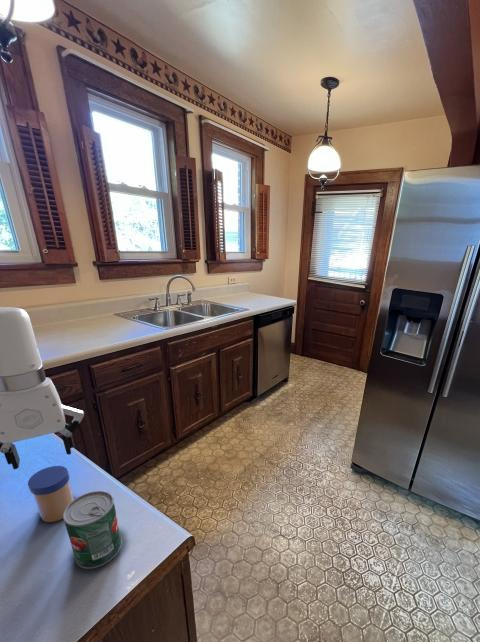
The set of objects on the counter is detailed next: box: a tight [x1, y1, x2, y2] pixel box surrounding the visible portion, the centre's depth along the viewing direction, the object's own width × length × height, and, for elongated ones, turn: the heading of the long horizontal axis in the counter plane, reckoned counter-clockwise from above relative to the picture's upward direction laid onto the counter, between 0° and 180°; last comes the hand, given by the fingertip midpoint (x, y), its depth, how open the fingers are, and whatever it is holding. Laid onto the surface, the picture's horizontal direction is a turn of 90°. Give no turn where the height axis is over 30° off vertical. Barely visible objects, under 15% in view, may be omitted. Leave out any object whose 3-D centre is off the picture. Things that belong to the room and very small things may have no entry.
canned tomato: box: [63, 490, 123, 570], centre depth 58 cm, size 8×8×11 cm
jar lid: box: [27, 465, 70, 495], centre depth 65 cm, size 7×7×2 cm
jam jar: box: [32, 480, 75, 523], centre depth 66 cm, size 6×6×9 cm
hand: (43, 457), depth 62 cm, fingers open, 8 cm apart
